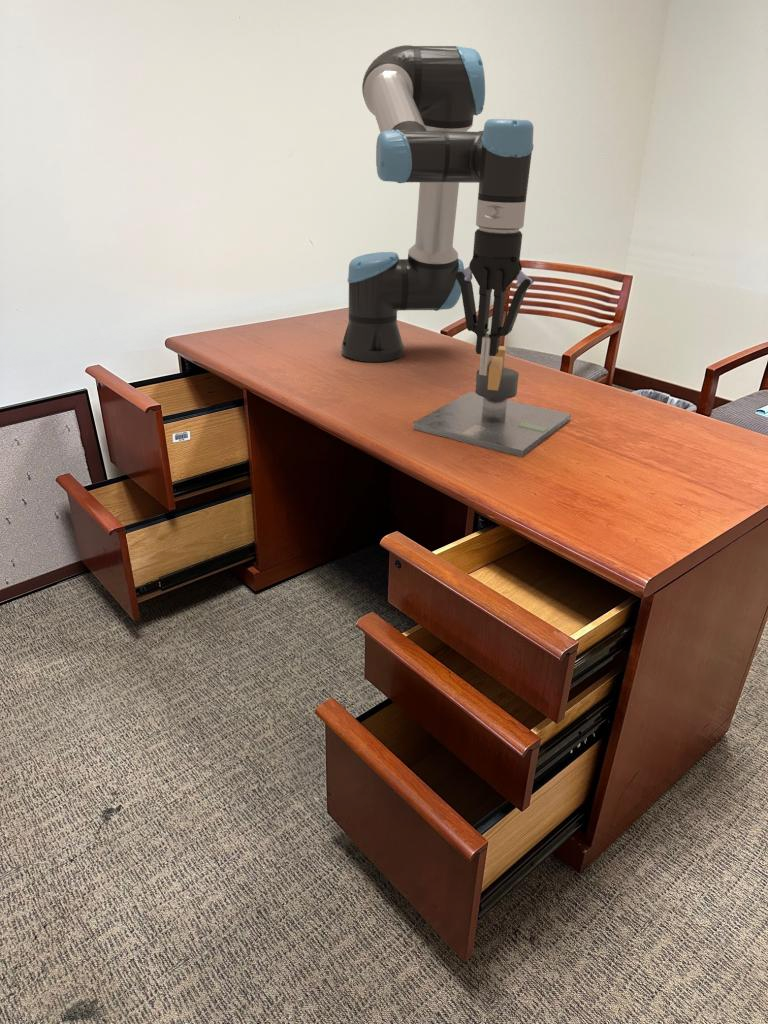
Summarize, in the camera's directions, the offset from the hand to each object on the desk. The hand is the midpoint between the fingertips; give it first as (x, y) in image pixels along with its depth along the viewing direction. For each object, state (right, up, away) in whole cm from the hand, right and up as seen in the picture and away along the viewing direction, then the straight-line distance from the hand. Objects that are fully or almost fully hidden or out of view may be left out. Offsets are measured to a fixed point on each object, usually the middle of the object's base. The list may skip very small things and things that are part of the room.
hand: (484, 372), depth 128 cm
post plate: (+3, -8, +11) cm, 14 cm away
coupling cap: (+2, -3, +6) cm, 7 cm away
